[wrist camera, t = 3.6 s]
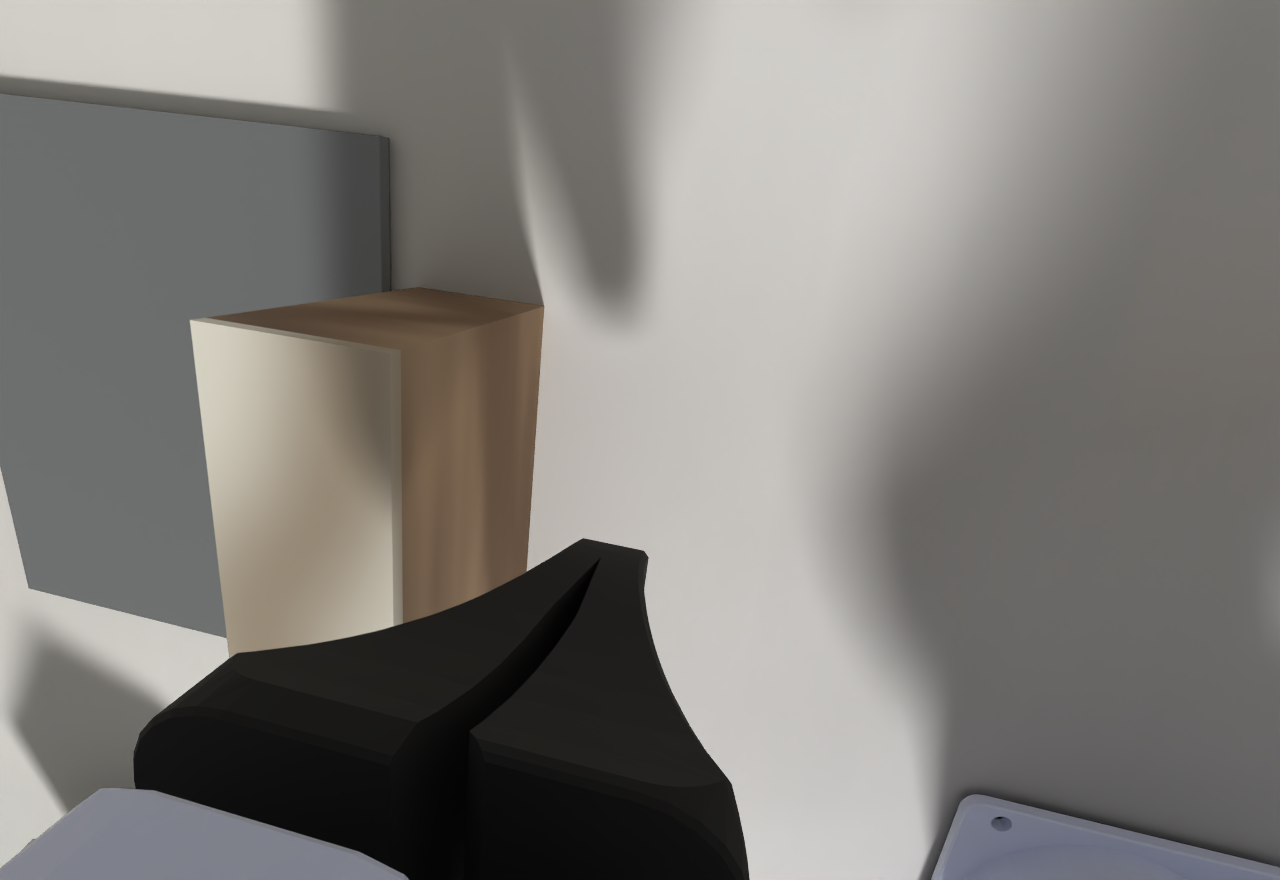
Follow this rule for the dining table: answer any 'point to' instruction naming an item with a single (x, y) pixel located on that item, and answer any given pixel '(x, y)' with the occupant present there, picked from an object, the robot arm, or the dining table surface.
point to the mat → (151, 322)
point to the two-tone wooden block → (366, 458)
